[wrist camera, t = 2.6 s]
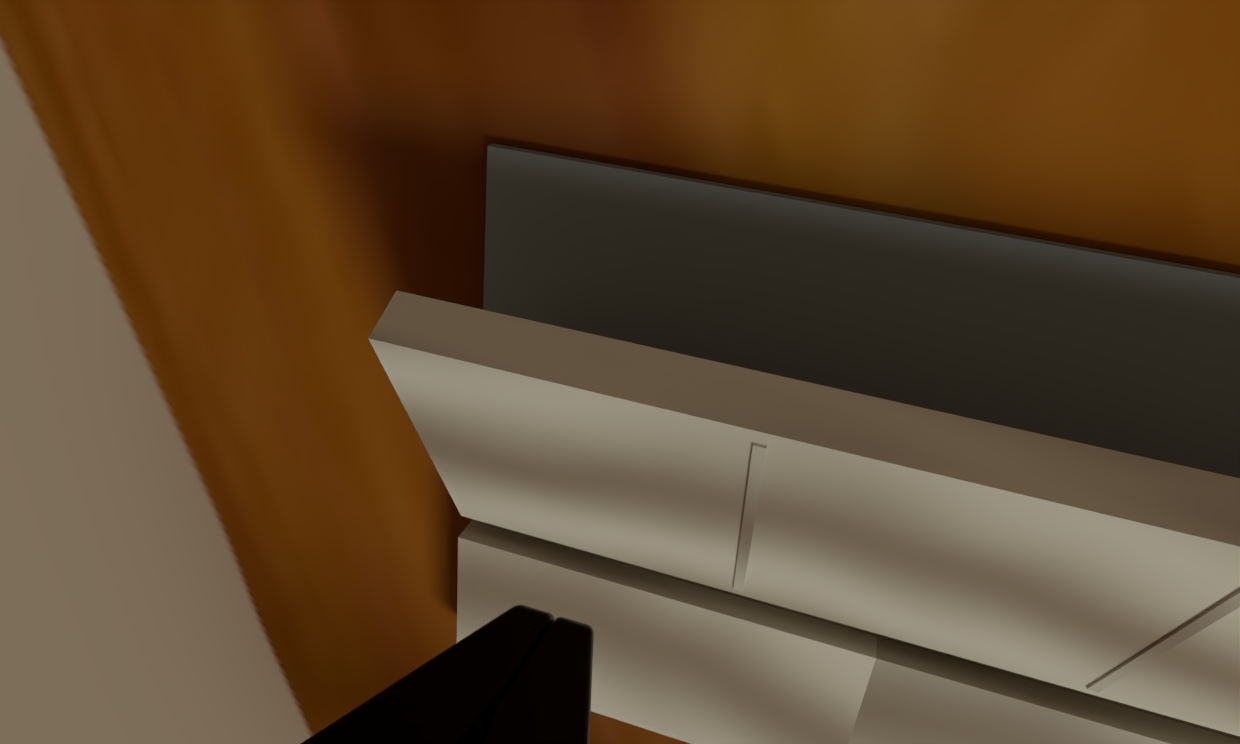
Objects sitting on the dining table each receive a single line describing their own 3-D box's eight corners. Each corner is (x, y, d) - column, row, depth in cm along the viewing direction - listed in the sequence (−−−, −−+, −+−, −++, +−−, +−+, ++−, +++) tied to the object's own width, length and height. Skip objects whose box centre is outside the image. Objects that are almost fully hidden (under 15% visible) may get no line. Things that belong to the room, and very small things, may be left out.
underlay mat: (1322, 897, 21) (1328, 910, 21) (478, 632, 26) (474, 638, 26) (1750, 363, 14) (1766, 371, 14) (493, 143, 19) (487, 145, 19)
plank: (1408, 728, 18) (1419, 790, 18) (479, 476, 23) (460, 517, 23) (1818, 607, 12) (1859, 698, 11) (396, 290, 17) (366, 341, 16)
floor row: (1281, 895, 21) (1301, 943, 20) (474, 638, 26) (456, 666, 25) (1394, 747, 19) (1422, 794, 18) (478, 494, 23) (458, 519, 22)
